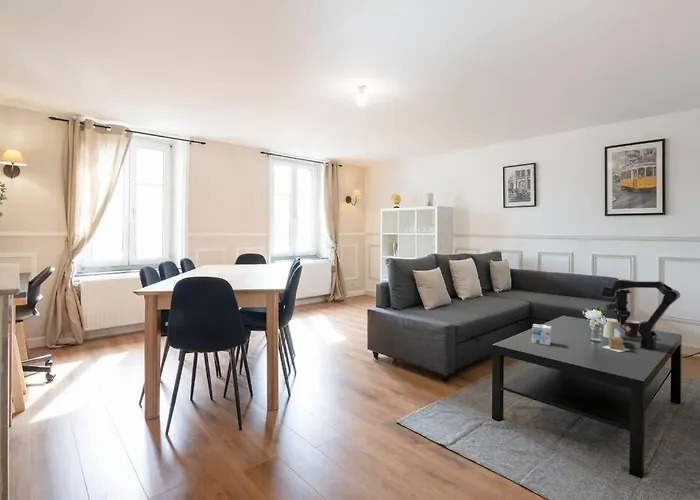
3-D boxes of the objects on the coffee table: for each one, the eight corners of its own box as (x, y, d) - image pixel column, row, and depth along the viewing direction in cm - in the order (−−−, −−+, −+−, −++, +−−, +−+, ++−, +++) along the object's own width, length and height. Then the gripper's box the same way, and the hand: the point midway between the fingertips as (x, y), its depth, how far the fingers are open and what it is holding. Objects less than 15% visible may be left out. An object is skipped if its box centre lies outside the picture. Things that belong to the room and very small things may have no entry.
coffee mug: (642, 338, 253) (643, 323, 252) (628, 337, 253) (629, 323, 252) (629, 333, 265) (630, 318, 264) (617, 332, 265) (617, 318, 264)
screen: (610, 340, 247) (611, 328, 247) (619, 341, 245) (620, 329, 245) (615, 346, 235) (615, 333, 234) (624, 347, 233) (625, 335, 232)
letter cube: (608, 345, 235) (609, 336, 234) (620, 347, 232) (620, 337, 232) (610, 348, 229) (611, 338, 229) (622, 350, 227) (623, 339, 227)
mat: (629, 350, 229) (629, 349, 228) (619, 352, 224) (619, 351, 224) (612, 345, 238) (612, 344, 238) (602, 347, 233) (602, 346, 233)
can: (619, 339, 249) (620, 321, 248) (602, 337, 254) (603, 319, 253) (619, 336, 256) (620, 319, 255) (603, 334, 262) (604, 316, 261)
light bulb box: (531, 342, 241) (532, 326, 241) (532, 340, 247) (532, 323, 247) (550, 345, 236) (551, 328, 236) (550, 342, 242) (551, 325, 242)
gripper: (603, 295, 254) (602, 318, 255) (609, 300, 237) (608, 325, 238) (624, 297, 249) (622, 320, 250) (631, 302, 232) (629, 327, 233)
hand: (620, 323), depth 243 cm, fingers open, 9 cm apart
